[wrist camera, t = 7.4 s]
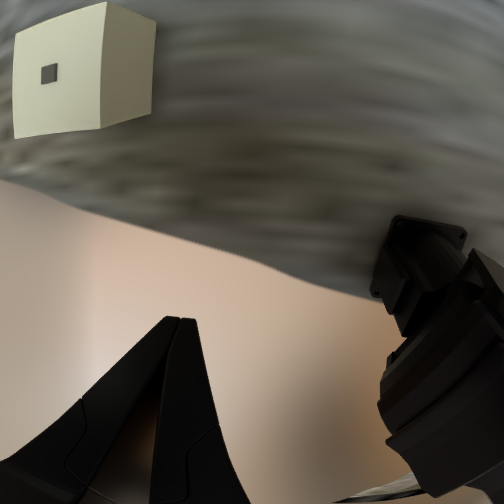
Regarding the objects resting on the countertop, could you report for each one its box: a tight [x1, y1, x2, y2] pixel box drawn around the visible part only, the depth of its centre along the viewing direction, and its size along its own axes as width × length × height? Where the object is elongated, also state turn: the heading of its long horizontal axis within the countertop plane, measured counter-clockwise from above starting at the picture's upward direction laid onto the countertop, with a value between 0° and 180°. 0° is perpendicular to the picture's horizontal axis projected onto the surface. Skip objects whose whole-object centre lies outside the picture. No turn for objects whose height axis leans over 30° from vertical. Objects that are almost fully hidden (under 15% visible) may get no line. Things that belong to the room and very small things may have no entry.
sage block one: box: [13, 2, 157, 139], centre depth 12 cm, size 6×6×6 cm
